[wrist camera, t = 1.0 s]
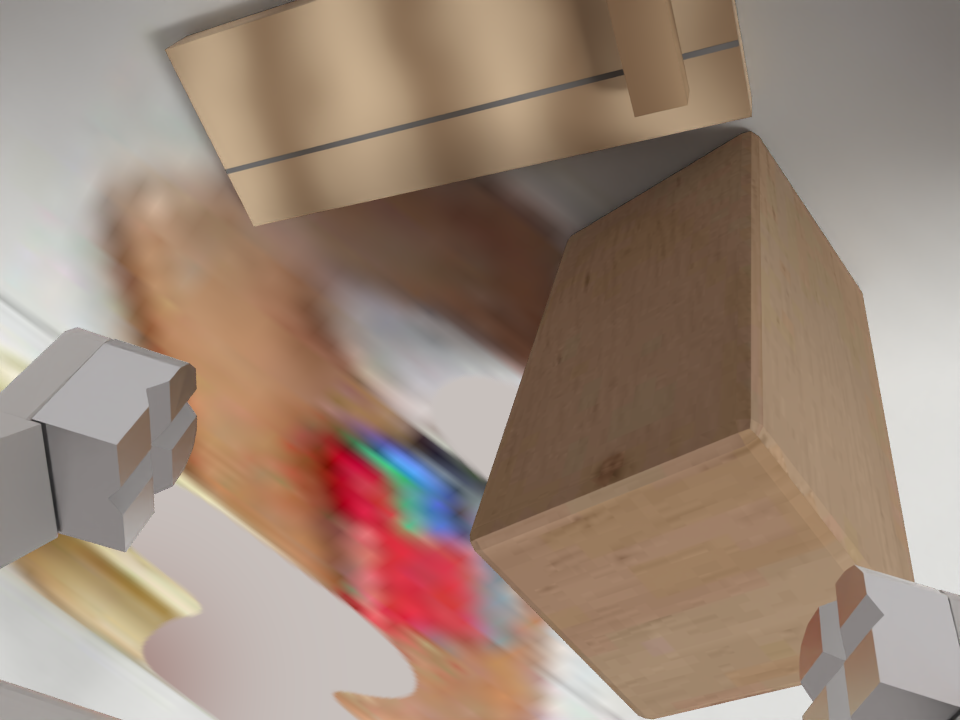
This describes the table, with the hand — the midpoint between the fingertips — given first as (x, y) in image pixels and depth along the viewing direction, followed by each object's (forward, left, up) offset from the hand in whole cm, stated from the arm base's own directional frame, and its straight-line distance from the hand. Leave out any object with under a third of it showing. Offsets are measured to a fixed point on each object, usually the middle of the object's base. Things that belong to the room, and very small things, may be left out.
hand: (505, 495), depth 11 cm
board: (+10, +2, -31) cm, 32 cm away
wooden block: (+1, +14, -31) cm, 34 cm away
